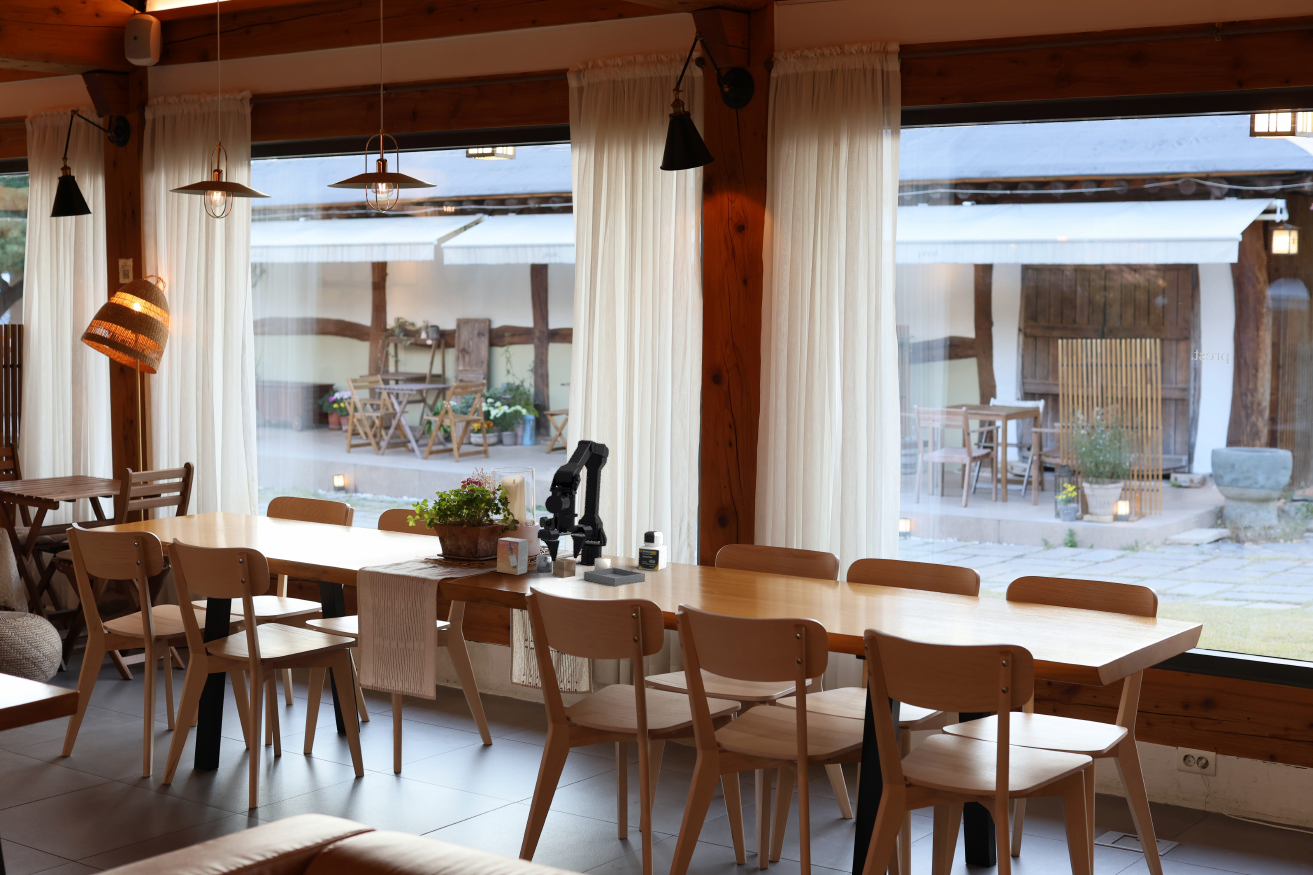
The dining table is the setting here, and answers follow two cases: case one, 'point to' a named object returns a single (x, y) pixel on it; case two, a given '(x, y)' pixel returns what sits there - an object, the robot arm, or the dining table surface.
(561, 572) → the walnut block
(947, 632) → the dining table surface
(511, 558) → the small box
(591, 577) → the gray tray
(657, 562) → the medicine bottle
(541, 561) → the slate cylinder
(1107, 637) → the dining table surface
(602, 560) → the ivory round canister
